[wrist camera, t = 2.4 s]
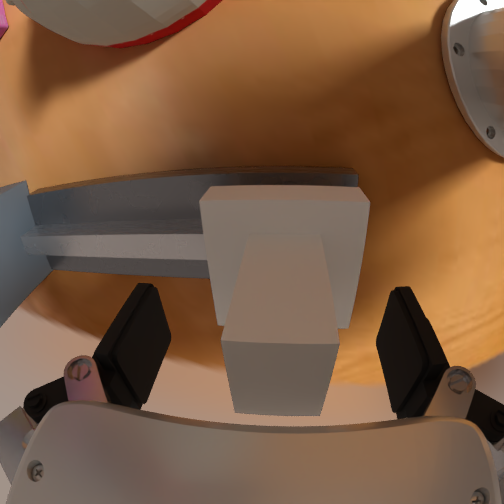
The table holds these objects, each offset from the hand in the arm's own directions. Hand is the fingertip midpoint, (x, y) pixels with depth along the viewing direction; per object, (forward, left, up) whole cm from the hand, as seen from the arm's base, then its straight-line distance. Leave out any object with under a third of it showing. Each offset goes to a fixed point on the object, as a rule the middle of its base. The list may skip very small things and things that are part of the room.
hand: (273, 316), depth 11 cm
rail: (+8, 0, -8) cm, 11 cm away
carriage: (0, 0, -5) cm, 5 cm away
